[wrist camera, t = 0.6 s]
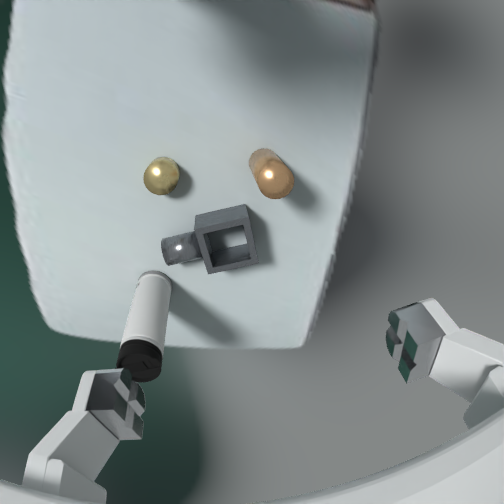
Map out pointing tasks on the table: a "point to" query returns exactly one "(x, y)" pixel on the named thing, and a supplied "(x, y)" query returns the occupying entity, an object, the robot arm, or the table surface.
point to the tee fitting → (199, 244)
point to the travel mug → (146, 327)
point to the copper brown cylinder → (271, 174)
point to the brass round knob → (161, 176)
